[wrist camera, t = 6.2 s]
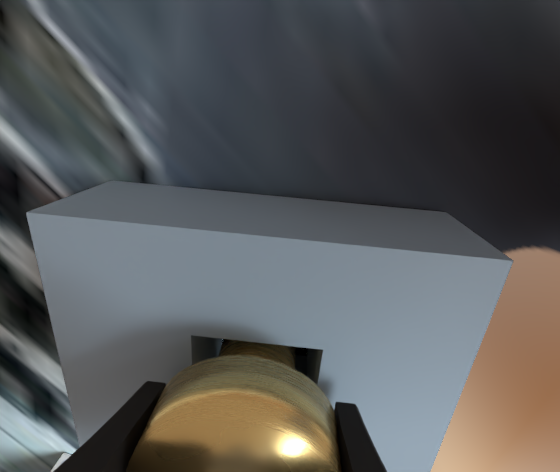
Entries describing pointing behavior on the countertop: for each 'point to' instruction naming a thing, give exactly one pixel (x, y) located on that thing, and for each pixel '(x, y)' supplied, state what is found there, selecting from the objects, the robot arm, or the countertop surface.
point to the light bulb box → (61, 460)
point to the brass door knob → (240, 417)
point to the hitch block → (268, 299)
